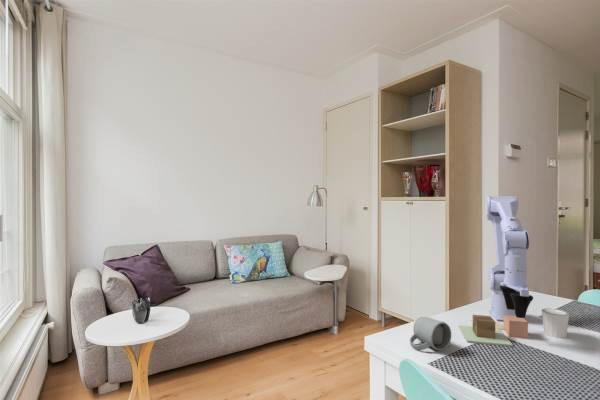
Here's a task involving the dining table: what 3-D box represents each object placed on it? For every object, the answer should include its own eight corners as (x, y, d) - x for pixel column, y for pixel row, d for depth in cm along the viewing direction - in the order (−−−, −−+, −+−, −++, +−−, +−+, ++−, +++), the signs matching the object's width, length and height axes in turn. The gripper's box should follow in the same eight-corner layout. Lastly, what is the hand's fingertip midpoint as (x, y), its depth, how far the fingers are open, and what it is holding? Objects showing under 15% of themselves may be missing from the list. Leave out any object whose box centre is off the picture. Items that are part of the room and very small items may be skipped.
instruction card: (471, 320, 115) (471, 319, 115) (500, 323, 113) (500, 322, 113) (475, 327, 109) (475, 326, 109) (506, 329, 107) (506, 328, 107)
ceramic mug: (429, 336, 102) (429, 311, 101) (452, 347, 94) (451, 320, 94) (403, 344, 97) (402, 317, 97) (424, 356, 90) (424, 327, 90)
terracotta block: (503, 330, 106) (503, 315, 106) (521, 332, 105) (521, 316, 105) (509, 336, 102) (509, 320, 102) (527, 338, 100) (527, 322, 100)
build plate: (458, 326, 109) (458, 325, 109) (498, 330, 106) (498, 328, 106) (467, 342, 98) (467, 340, 98) (513, 346, 95) (513, 344, 95)
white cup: (558, 339, 99) (558, 316, 99) (536, 331, 106) (536, 309, 106) (575, 337, 101) (575, 314, 101) (552, 328, 108) (552, 307, 108)
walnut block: (472, 330, 105) (472, 314, 105) (490, 331, 104) (490, 316, 104) (476, 336, 100) (476, 320, 100) (495, 338, 99) (495, 321, 99)
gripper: (493, 264, 111) (493, 305, 111) (509, 273, 97) (509, 320, 97) (517, 265, 110) (517, 306, 110) (537, 275, 96) (537, 322, 96)
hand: (515, 313), depth 103 cm, fingers open, 7 cm apart
